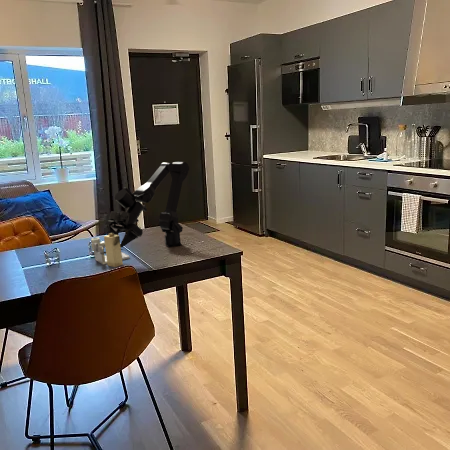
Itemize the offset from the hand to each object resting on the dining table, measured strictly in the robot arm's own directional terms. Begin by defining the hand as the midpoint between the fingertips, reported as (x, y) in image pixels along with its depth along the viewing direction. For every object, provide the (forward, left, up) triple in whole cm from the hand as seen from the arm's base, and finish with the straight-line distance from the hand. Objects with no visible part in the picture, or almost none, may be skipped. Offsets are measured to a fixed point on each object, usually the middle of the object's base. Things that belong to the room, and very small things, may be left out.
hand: (113, 245), depth 196 cm
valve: (+2, -24, -9) cm, 25 cm away
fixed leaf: (0, -9, -8) cm, 12 cm away
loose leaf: (0, 0, -8) cm, 8 cm away
